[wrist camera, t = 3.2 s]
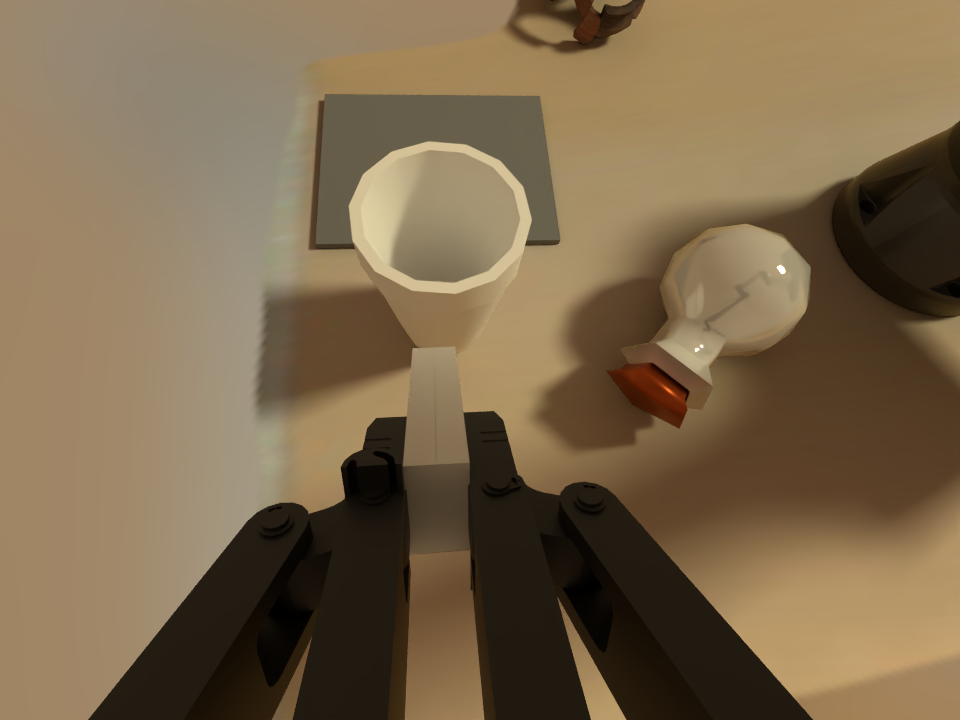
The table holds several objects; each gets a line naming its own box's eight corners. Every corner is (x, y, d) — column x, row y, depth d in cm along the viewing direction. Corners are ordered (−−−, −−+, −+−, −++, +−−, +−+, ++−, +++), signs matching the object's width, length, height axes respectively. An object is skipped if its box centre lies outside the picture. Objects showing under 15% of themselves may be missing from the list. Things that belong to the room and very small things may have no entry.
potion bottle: (734, 291, 40) (633, 420, 38) (687, 201, 36) (569, 340, 33) (857, 295, 32) (739, 462, 29) (813, 180, 28) (671, 362, 25)
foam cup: (406, 392, 34) (383, 319, 22) (366, 288, 36) (324, 170, 24) (522, 348, 36) (561, 256, 23) (476, 251, 38) (489, 124, 26)
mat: (558, 243, 39) (560, 239, 38) (317, 248, 37) (315, 244, 37) (538, 101, 44) (539, 96, 44) (326, 99, 43) (324, 94, 42)
